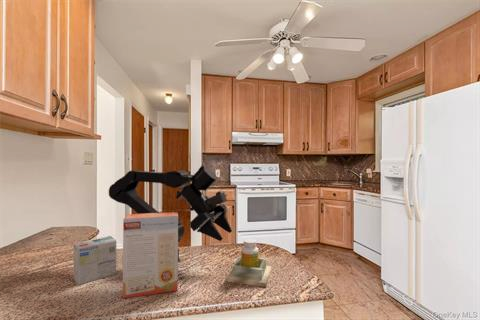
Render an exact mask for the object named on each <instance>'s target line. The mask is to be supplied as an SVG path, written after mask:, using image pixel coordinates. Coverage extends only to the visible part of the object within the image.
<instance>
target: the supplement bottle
mask: <svg viewBox="0 0 480 320" xmlns="http://www.w3.org/2000/svg"><path fill="white" fill-rule="evenodd" d="M240 253H241V254H240V255H241V266H246V267H254V268H258V257H259V248H258V247H257V240H256V239H253V238H245V239H244V240H243V246H242V247H241V252H240Z"/></svg>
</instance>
